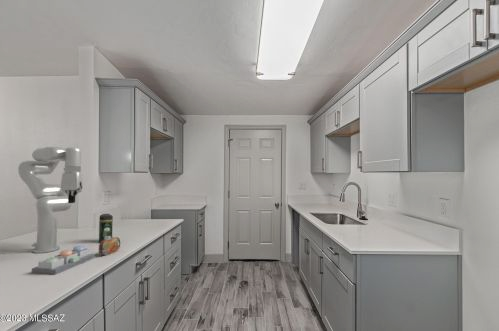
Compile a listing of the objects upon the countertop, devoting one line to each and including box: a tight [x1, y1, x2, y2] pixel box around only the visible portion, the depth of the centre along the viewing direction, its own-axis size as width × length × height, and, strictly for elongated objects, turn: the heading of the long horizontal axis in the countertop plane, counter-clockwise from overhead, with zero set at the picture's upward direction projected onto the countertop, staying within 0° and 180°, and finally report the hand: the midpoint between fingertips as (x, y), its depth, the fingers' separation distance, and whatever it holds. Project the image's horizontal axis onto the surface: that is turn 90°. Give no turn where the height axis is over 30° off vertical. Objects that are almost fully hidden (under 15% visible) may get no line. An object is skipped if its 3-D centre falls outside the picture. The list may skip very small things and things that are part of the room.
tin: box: [98, 236, 121, 257], centre depth 155 cm, size 15×3×8 cm, turn 168°
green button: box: [44, 257, 58, 262], centre depth 126 cm, size 5×5×3 cm
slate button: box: [72, 245, 85, 252], centre depth 142 cm, size 5×5×3 cm
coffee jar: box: [98, 213, 114, 244], centre depth 182 cm, size 10×8×19 cm
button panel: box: [31, 248, 95, 275], centre depth 134 cm, size 25×12×5 cm, turn 173°
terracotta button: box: [59, 249, 73, 257], centre depth 134 cm, size 5×5×3 cm
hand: (71, 202), depth 150 cm, fingers closed
